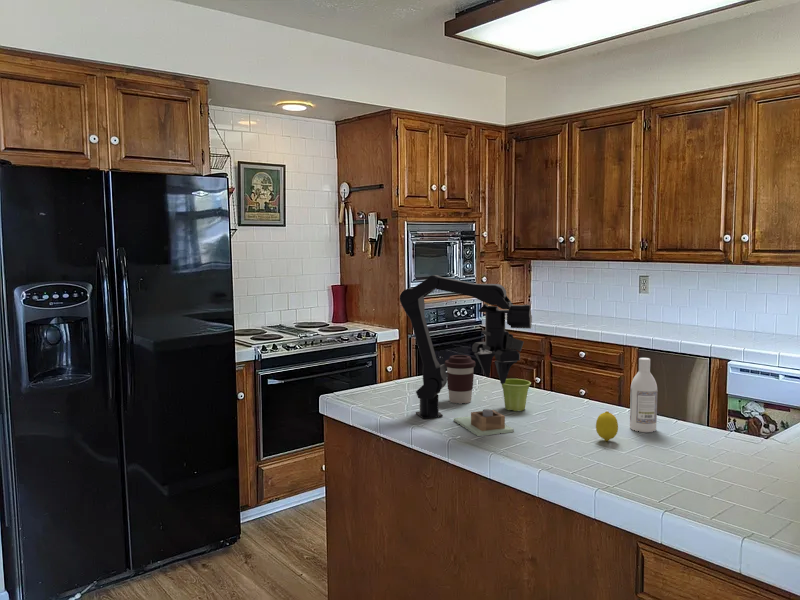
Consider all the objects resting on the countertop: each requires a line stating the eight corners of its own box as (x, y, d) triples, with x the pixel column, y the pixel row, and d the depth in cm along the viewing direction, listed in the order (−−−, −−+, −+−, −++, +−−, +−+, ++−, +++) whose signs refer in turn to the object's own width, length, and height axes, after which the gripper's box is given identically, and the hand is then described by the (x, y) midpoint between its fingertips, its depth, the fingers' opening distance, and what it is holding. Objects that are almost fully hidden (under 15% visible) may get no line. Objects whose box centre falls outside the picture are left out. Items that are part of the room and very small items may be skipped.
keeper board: (453, 420, 187) (453, 403, 187) (487, 417, 191) (487, 399, 191) (478, 436, 172) (478, 417, 172) (513, 431, 176) (514, 413, 176)
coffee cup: (480, 400, 212) (480, 355, 210) (467, 406, 203) (467, 360, 202) (453, 396, 217) (453, 352, 215) (439, 402, 208) (439, 357, 207)
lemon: (619, 445, 164) (619, 414, 163) (596, 443, 165) (597, 413, 164) (616, 438, 169) (616, 409, 169) (594, 437, 170) (595, 408, 170)
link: (470, 424, 181) (471, 412, 181) (493, 421, 183) (493, 409, 183) (482, 431, 174) (482, 418, 174) (504, 428, 177) (504, 416, 176)
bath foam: (661, 431, 175) (663, 359, 173) (641, 434, 173) (643, 361, 171) (644, 424, 182) (646, 355, 180) (624, 427, 179) (625, 357, 177)
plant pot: (521, 404, 206) (521, 377, 205) (536, 411, 197) (536, 383, 196) (494, 406, 203) (495, 379, 202) (509, 414, 194) (509, 386, 193)
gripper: (536, 330, 179) (536, 384, 180) (504, 322, 196) (503, 372, 198) (501, 332, 175) (501, 388, 177) (471, 324, 193) (471, 375, 194)
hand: (495, 380), depth 186 cm, fingers open, 9 cm apart
